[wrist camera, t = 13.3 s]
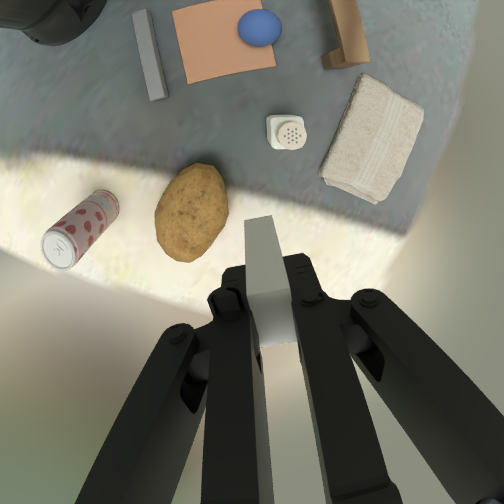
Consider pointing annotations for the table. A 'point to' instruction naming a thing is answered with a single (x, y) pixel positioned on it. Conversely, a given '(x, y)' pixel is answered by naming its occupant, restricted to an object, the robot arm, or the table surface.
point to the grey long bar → (149, 55)
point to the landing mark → (217, 40)
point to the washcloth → (372, 141)
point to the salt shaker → (286, 131)
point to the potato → (191, 212)
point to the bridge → (346, 36)
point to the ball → (259, 27)
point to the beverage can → (78, 230)
